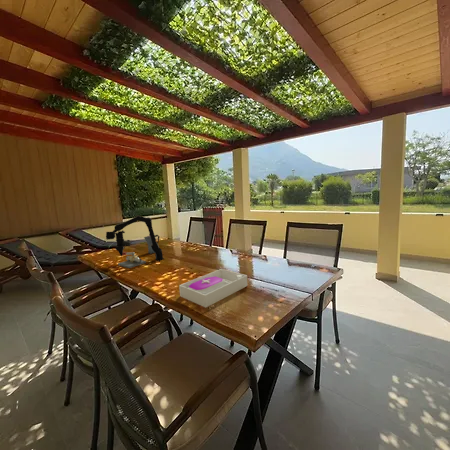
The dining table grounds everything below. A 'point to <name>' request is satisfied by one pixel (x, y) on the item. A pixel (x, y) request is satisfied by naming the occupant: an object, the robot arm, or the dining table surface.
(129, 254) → the valve lever
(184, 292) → the white tray with pad
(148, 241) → the moka pot
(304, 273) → the dining table surface
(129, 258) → the valve body
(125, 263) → the valve board
